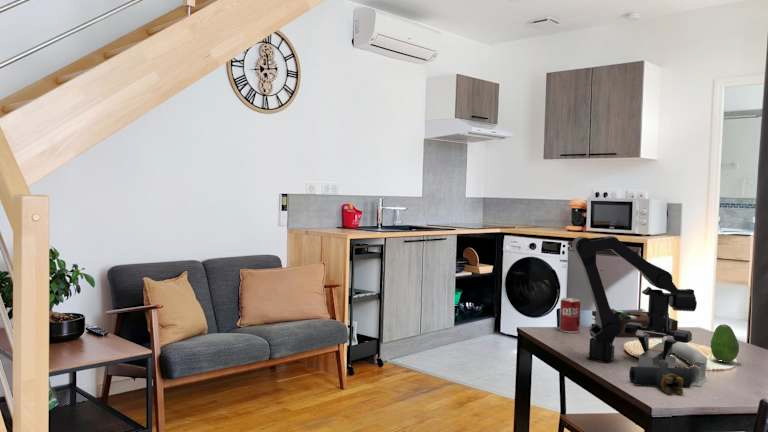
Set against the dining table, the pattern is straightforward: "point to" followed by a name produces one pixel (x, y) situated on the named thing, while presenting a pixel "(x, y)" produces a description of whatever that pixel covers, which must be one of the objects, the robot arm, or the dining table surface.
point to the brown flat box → (637, 318)
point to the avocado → (724, 343)
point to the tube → (687, 352)
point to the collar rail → (696, 370)
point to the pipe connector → (662, 378)
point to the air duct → (652, 356)
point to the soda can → (570, 315)
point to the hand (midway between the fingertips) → (655, 359)
